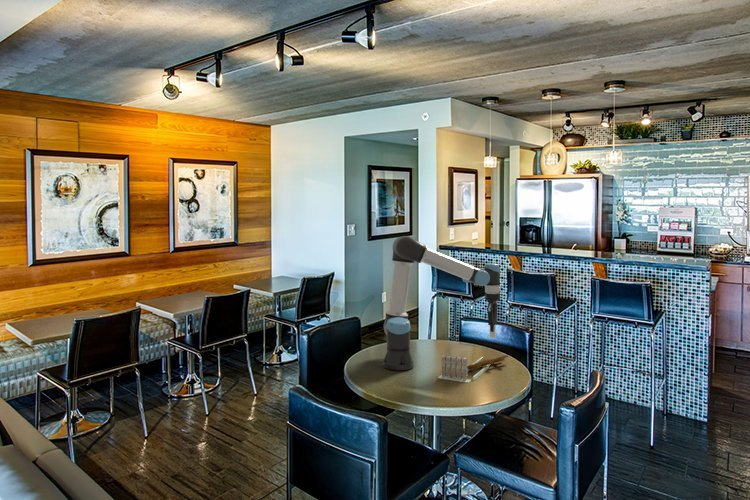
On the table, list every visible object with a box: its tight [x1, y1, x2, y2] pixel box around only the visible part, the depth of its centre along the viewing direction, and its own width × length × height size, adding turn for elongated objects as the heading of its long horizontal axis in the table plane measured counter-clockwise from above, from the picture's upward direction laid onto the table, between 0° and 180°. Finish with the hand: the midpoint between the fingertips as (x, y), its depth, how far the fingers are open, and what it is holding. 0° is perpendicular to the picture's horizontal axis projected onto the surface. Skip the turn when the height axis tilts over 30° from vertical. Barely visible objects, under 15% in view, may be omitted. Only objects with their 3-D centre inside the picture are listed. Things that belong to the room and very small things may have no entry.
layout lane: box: [467, 356, 492, 381], centre depth 243 cm, size 8×37×2 cm, turn 151°
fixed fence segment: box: [441, 354, 468, 381], centre depth 228 cm, size 2×12×10 cm, turn 61°
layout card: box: [436, 374, 472, 384], centre depth 227 cm, size 15×4×1 cm, turn 61°
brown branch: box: [467, 354, 509, 371], centre depth 245 cm, size 25×2×10 cm
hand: (492, 337), depth 263 cm, fingers closed
